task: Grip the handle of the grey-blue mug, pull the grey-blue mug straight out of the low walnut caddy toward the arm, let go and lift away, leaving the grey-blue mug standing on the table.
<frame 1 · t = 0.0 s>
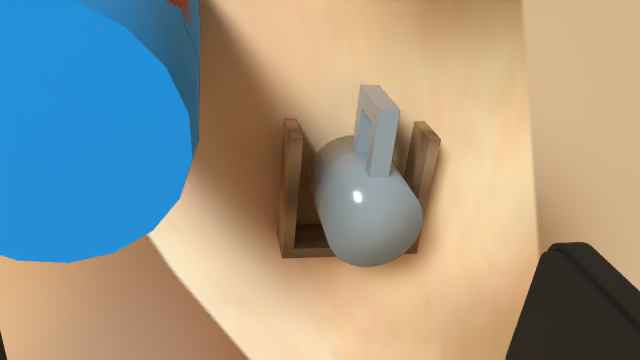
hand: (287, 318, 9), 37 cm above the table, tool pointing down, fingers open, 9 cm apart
blue domino block: (126, 3, 41), on the table
caddy: (349, 174, 51), on the table
grey-blue mug: (365, 169, 46), in the caddy
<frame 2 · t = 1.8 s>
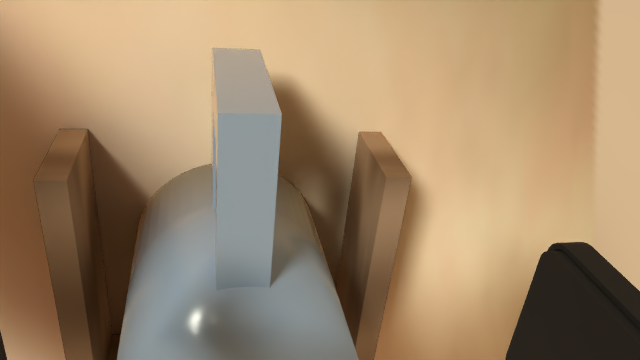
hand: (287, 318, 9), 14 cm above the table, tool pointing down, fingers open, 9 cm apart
caddy: (228, 239, 25), on the table
grey-blue mug: (235, 248, 20), in the caddy
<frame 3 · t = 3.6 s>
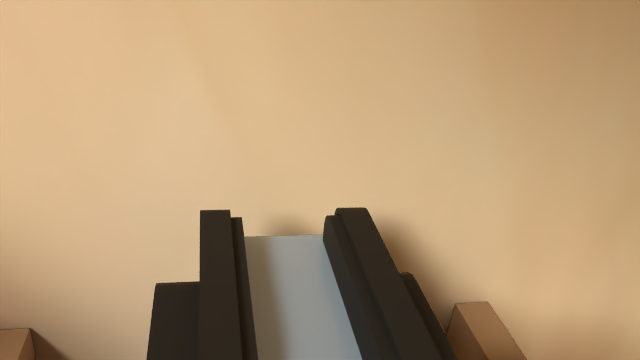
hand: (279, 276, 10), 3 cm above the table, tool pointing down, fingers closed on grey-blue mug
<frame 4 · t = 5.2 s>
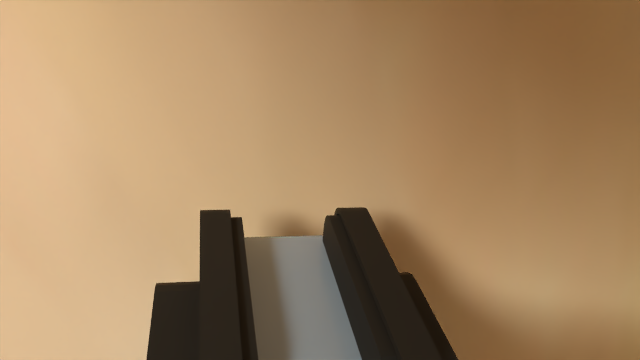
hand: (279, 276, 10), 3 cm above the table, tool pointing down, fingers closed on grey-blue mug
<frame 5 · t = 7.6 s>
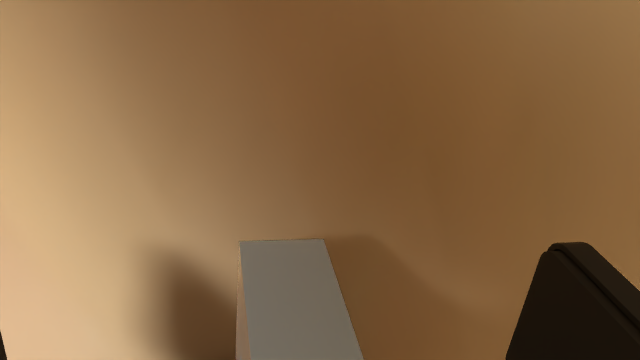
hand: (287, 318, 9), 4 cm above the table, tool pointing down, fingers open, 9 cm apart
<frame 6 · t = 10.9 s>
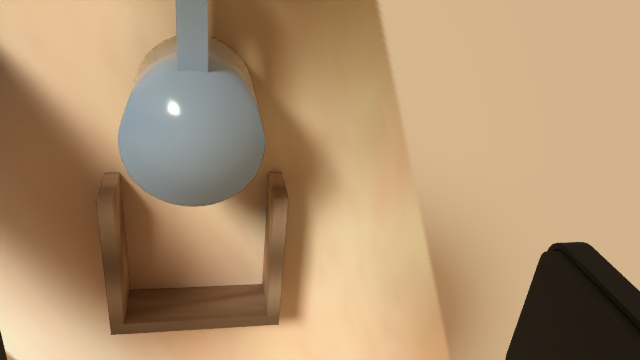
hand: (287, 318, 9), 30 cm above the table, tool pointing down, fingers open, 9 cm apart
caddy: (197, 233, 44), on the table
grey-blue mug: (194, 72, 33), on the table
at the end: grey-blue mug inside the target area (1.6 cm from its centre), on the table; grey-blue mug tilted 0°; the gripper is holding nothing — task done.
